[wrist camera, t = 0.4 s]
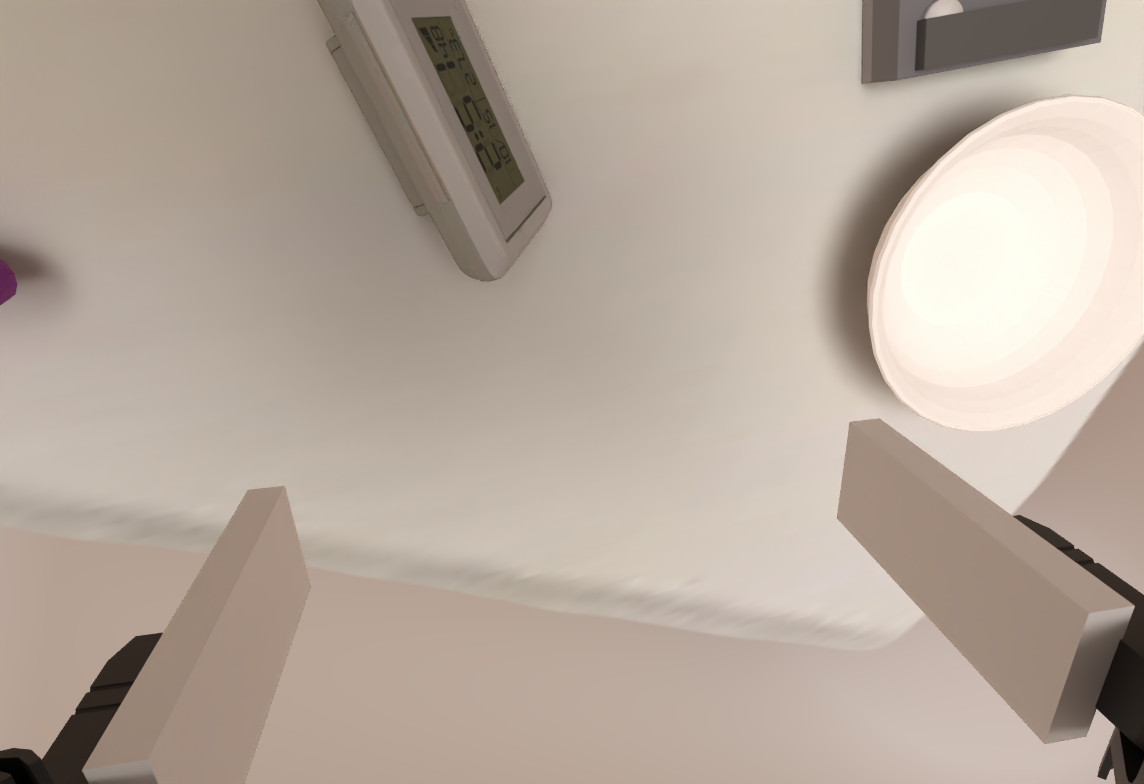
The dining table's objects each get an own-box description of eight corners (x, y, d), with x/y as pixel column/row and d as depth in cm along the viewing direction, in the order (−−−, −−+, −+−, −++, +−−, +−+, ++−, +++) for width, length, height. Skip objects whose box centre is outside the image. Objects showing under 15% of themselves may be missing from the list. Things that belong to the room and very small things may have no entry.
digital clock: (555, 227, 39) (583, 262, 30) (409, 264, 39) (389, 312, 29) (483, -92, 33) (488, -181, 23) (306, -52, 32) (236, -126, 23)
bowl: (1054, 380, 49) (1133, 415, 43) (804, 408, 47) (852, 448, 41) (1129, 90, 41) (1238, 85, 35) (834, 106, 39) (898, 103, 33)
